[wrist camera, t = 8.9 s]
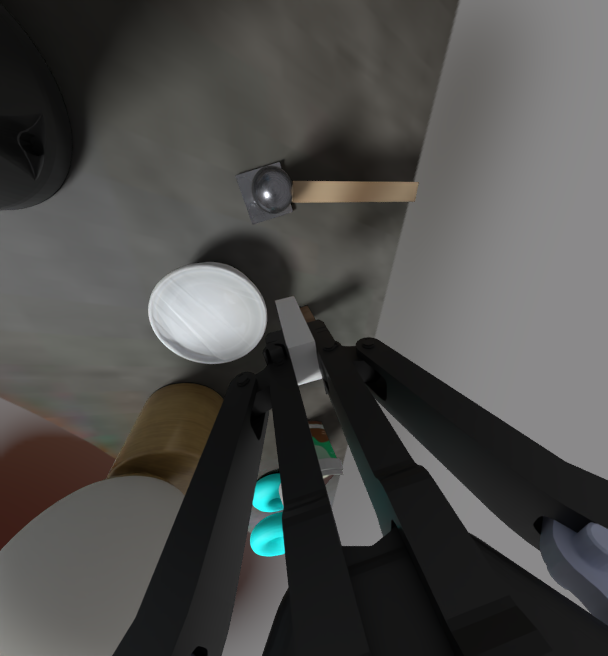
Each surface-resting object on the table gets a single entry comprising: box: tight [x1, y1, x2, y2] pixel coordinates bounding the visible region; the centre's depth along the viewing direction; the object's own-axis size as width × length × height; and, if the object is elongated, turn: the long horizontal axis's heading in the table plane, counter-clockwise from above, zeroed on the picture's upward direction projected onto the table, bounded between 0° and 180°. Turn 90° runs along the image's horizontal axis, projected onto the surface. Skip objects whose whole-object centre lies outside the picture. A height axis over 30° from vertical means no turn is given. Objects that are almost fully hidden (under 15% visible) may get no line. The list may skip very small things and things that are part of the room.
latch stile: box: [300, 306, 315, 323], centre depth 27 cm, size 3×3×9 cm
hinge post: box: [236, 162, 293, 224], centre depth 19 cm, size 4×4×11 cm
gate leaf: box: [292, 181, 418, 202], centre depth 21 cm, size 10×1×7 cm, turn 90°
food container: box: [279, 421, 343, 504], centre depth 38 cm, size 12×6×10 cm, turn 146°
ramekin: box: [148, 262, 267, 364], centre depth 26 cm, size 11×11×5 cm
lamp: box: [0, 383, 223, 656], centre depth 23 cm, size 15×14×25 cm
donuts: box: [250, 473, 285, 556], centre depth 44 cm, size 10×10×10 cm
